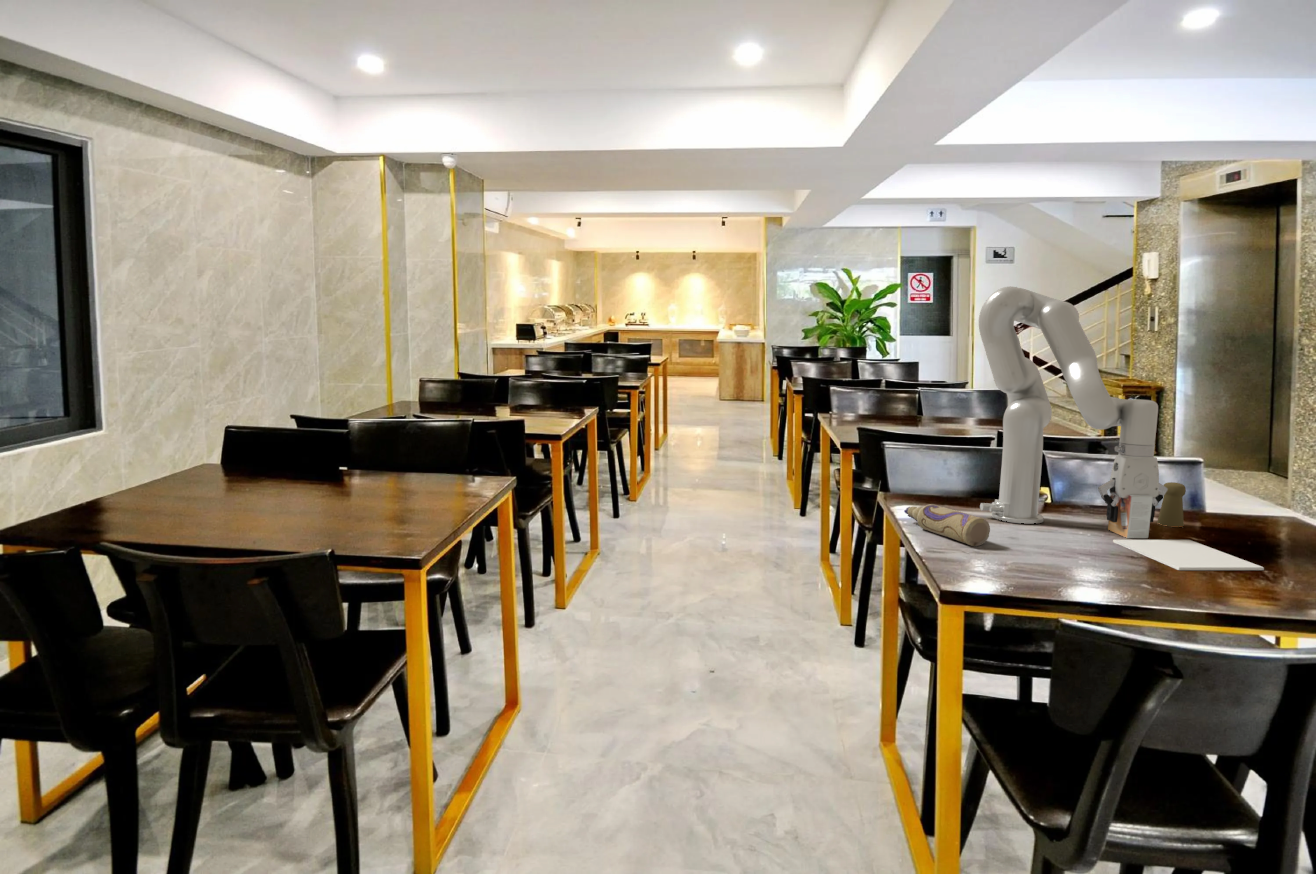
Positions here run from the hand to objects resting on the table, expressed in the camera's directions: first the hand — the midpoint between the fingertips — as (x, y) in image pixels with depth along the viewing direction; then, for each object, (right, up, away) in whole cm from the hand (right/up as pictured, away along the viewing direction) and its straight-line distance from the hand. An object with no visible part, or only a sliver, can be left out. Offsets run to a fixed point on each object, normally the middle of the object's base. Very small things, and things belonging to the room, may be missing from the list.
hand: (1129, 520), depth 215 cm
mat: (+2, -6, -18) cm, 19 cm away
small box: (0, -4, +1) cm, 4 cm away
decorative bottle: (-46, -3, -3) cm, 46 cm away
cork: (+17, -2, +12) cm, 21 cm away
